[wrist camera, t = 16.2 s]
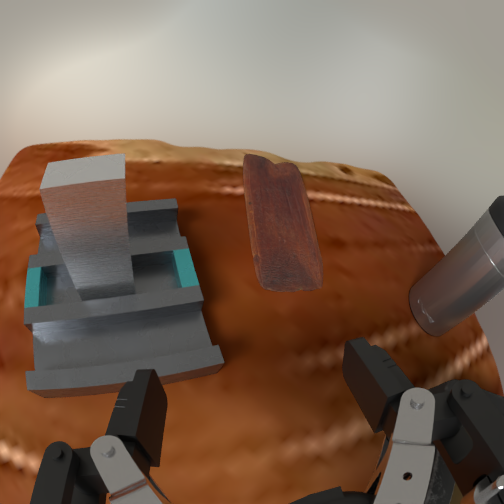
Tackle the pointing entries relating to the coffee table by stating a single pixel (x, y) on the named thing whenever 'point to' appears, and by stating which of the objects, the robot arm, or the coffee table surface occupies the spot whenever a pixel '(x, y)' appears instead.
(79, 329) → the rack
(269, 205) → the wooden tablet
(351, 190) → the coffee table surface
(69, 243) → the panel
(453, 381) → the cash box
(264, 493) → the coffee table surface
